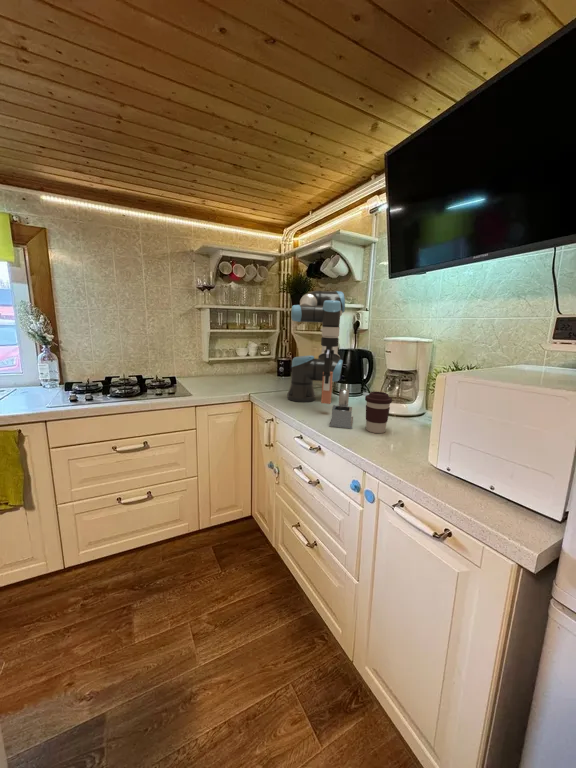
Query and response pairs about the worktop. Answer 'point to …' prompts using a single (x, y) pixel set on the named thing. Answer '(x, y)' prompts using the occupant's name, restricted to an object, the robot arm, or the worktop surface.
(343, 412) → the grey holder stand
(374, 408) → the coffee cup
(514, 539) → the worktop surface
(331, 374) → the orange rectangular bar
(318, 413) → the worktop surface
